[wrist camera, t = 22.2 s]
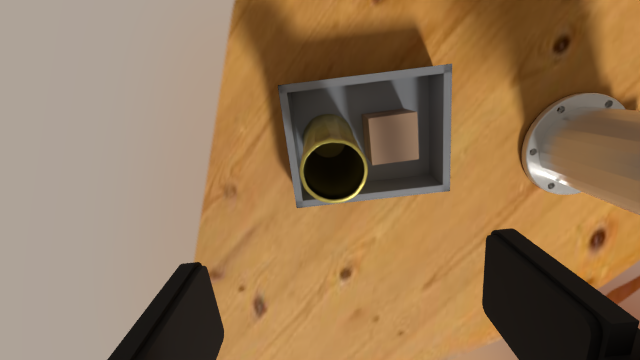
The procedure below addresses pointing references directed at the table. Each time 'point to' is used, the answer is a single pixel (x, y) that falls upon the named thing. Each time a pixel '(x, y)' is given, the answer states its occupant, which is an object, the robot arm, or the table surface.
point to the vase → (332, 160)
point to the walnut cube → (390, 136)
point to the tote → (367, 97)
